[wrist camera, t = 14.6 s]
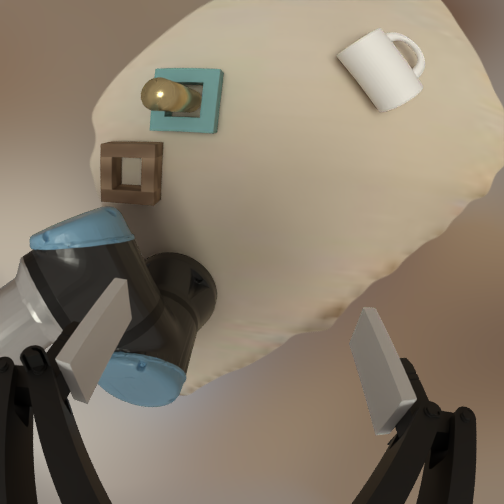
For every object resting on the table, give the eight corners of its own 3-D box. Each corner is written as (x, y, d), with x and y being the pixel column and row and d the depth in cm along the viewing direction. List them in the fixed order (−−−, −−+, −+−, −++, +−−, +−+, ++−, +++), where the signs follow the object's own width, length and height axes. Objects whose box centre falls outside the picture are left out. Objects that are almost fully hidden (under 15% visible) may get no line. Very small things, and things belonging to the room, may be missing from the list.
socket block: (216, 132, 40) (212, 133, 37) (157, 129, 40) (149, 130, 37) (223, 73, 36) (220, 69, 33) (163, 72, 36) (155, 68, 33)
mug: (371, 112, 38) (393, 113, 31) (330, 59, 35) (344, 48, 28) (423, 76, 34) (450, 72, 27) (385, 25, 31) (407, 11, 24)
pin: (200, 113, 39) (172, 111, 26) (176, 112, 39) (139, 110, 26) (202, 89, 37) (175, 77, 25) (178, 88, 37) (142, 77, 25)
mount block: (160, 199, 45) (153, 205, 42) (111, 195, 45) (101, 201, 41) (163, 142, 41) (155, 144, 38) (111, 141, 41) (100, 144, 38)
